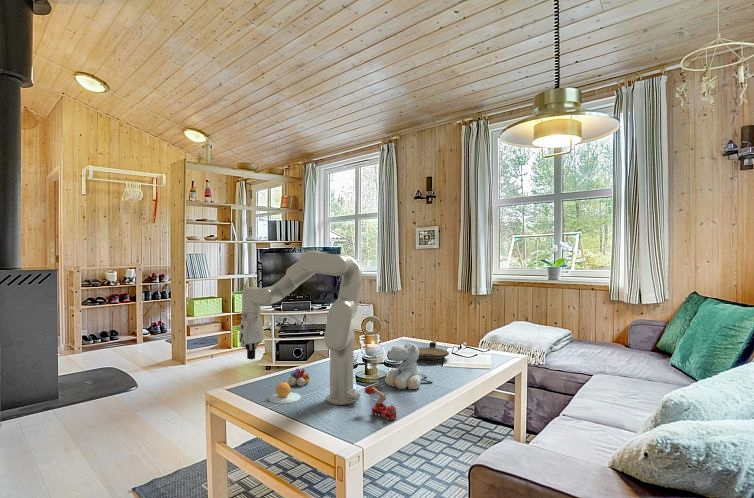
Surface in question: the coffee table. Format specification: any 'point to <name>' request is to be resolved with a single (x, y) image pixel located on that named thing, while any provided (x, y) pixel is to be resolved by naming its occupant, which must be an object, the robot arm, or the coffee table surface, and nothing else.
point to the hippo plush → (405, 368)
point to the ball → (283, 389)
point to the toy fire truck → (381, 405)
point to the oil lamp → (432, 352)
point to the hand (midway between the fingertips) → (251, 358)
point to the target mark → (285, 398)
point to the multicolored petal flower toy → (298, 378)
